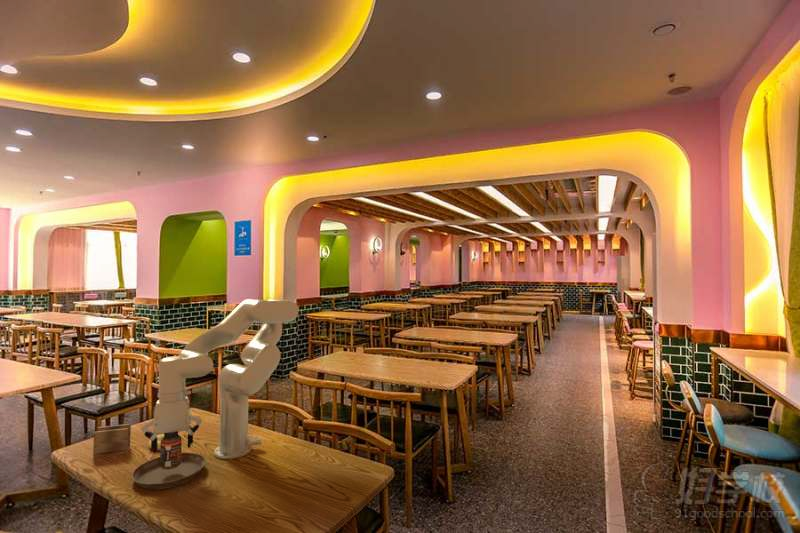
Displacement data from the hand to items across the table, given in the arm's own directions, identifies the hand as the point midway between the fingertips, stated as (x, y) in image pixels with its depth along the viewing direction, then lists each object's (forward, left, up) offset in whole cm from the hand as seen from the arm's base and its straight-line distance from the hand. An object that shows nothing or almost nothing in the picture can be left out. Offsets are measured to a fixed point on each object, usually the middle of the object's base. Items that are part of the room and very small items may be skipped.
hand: (172, 448), depth 133 cm
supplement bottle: (0, 0, -6) cm, 6 cm away
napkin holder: (+22, -25, -8) cm, 34 cm away
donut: (+6, -24, -9) cm, 27 cm away
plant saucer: (+1, 0, -9) cm, 9 cm away
